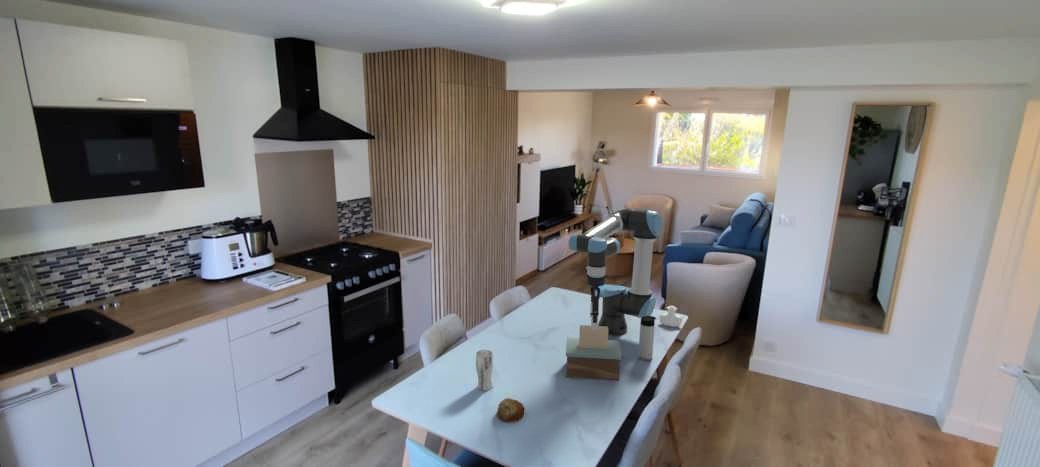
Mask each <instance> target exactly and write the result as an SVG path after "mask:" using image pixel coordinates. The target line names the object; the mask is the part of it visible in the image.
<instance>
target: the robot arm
mask: <svg viewBox="0 0 1040 467" xmlns="http://www.w3.org/2000/svg"><path fill="white" fill-rule="evenodd" d="M662 230H663V219H662V216H661V214H660V213H659V212H658V211H654V210H650V209H649V210H648V209H639V208H638V209H637V208H629V207H628V208H623V209H620V210H616V211H613V212H612V213H610V214H609V215H607V216H606V218H605V219H604V220H603V221H601V222H600V223H598V224H597V225H595V226H593V227H591V228H590V229H588V230H587V231H585V232H584V233H582V234H574V233H573V234H571V235H570V237H569V238H568V249H569V250H570V251H572V252H576V253H582V254H583V253H584V254H587V265H586V267H585V269H586V271H587V272H586V274H587V275H586V284H587V285H588V286H590V288H589V289H590V313H589V314H590V315H589V318H590V322H591V323H590V326H591V330H598V326H606V327H608V335H612V336H613V335H615V336H617V335H624V334H626V333H627V332H628V324H627V320H626V315H627V316H631V317H636V318H638V319H641V318H642V317H643V316H652V314H653V312H654V310H655V307H656V303H657V302H656V297H654V296H653V291H652V290H651V289H650V285H651V284H650V283H651V273H652V271H651V270H652V263H653V262H652V261H653V248H654V242H655V241H656V240H657V239H658V237H659V236H660V235H661V234H662ZM620 232H627V233H632V238H633V239H634V241H635V242H634V253H633V254H634V256H633V263H632V264H633V266H632V277H631V278H632V279H631V287H629V288H628V290H627V287H626V286H624V285H610V286H606V287H604V289H603V290H602V291H603V292H602V306H601V316H600V318H599V314H600V313H599V312H600V311H599V308H600V306H599V305H600V303H599V302H600V299H601V296H600V294H601V287H603V286H604V285H605V283H606V270H607V266H606V265H607V264H606V263H607V261H606V260H607V259H608V258H610V257H611V258H612V257H614V256H616V255H617V254H618V253H619V252H620V250H621V244H620V242H619V240H618V239H617V238H613V237H610V236H611V235H613V234H618V233H620ZM608 237H609V238H608Z"/></svg>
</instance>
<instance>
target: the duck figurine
mask: <svg viewBox="0 0 1040 467" xmlns="http://www.w3.org/2000/svg"><path fill="white" fill-rule="evenodd" d="M666 309H667V312H668V313H666V312H665V313H662V314H660V315H659V318H658V319H659V322H660V324H662V325H663V326H665V327H672V328H675V327H676V328H677V327H678V328H679V327H681V325H682V323H683V317H681V316H680V315H678V314H675V313H676V312H677V310H678V308H677V307H676V306H675V305H669V306H666Z"/></svg>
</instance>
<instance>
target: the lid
mask: <svg viewBox="0 0 1040 467" xmlns="http://www.w3.org/2000/svg"><path fill="white" fill-rule="evenodd" d="M578 333H579V335H578V336H579V338H575V337H572V338H571V337H566V347H565V357H567V356H568V357H585V358H602V359H619V360H620V361H621V360H623V359H622V358H623V356H622V350H621V345H620V341H619V340H613V339H612V340H609V334H608V327H606V326H598V330H591V325H584V324H583V325H582V324H580V325H579V332H578Z"/></svg>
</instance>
